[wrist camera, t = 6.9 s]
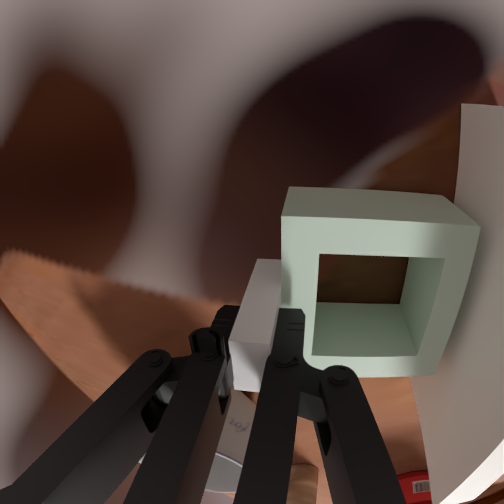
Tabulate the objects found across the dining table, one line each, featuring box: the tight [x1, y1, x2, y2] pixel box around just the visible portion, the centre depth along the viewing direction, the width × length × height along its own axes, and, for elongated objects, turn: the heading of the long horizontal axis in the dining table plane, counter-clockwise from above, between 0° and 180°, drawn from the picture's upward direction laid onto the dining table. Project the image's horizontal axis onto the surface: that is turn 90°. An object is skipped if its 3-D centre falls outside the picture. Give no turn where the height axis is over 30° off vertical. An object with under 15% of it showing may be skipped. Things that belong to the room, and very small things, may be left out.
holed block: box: [281, 187, 481, 377], centre depth 16 cm, size 9×9×5 cm
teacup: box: [139, 386, 256, 493], centre depth 23 cm, size 14×11×8 cm
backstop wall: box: [409, 103, 504, 504], centre depth 12 cm, size 3×20×12 cm, turn 3°
